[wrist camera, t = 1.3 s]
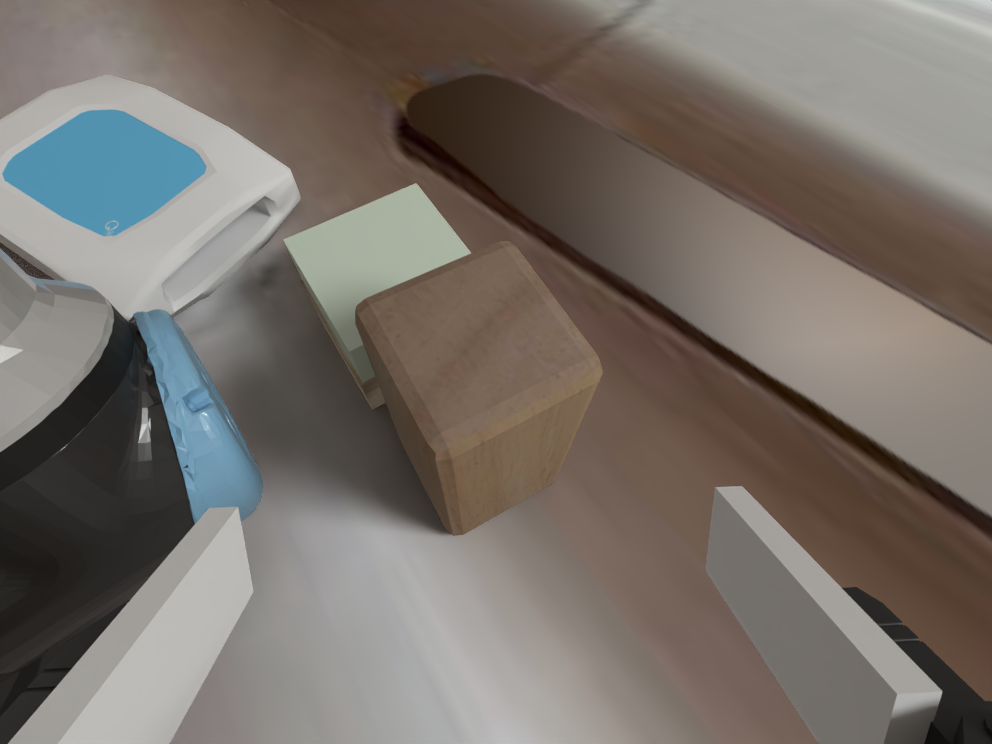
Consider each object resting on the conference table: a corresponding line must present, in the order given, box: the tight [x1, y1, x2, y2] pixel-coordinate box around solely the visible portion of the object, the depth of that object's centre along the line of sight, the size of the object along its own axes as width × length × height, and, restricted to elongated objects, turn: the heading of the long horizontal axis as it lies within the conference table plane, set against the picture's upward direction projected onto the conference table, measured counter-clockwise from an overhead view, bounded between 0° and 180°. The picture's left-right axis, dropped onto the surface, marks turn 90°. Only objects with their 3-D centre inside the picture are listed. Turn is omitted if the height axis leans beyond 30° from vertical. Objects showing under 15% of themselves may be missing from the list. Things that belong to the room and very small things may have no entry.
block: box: [355, 241, 603, 536], centre depth 36 cm, size 10×10×20 cm
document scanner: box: [0, 74, 301, 321], centre depth 53 cm, size 21×28×6 cm
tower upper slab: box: [283, 183, 471, 383], centre depth 44 cm, size 12×12×5 cm
